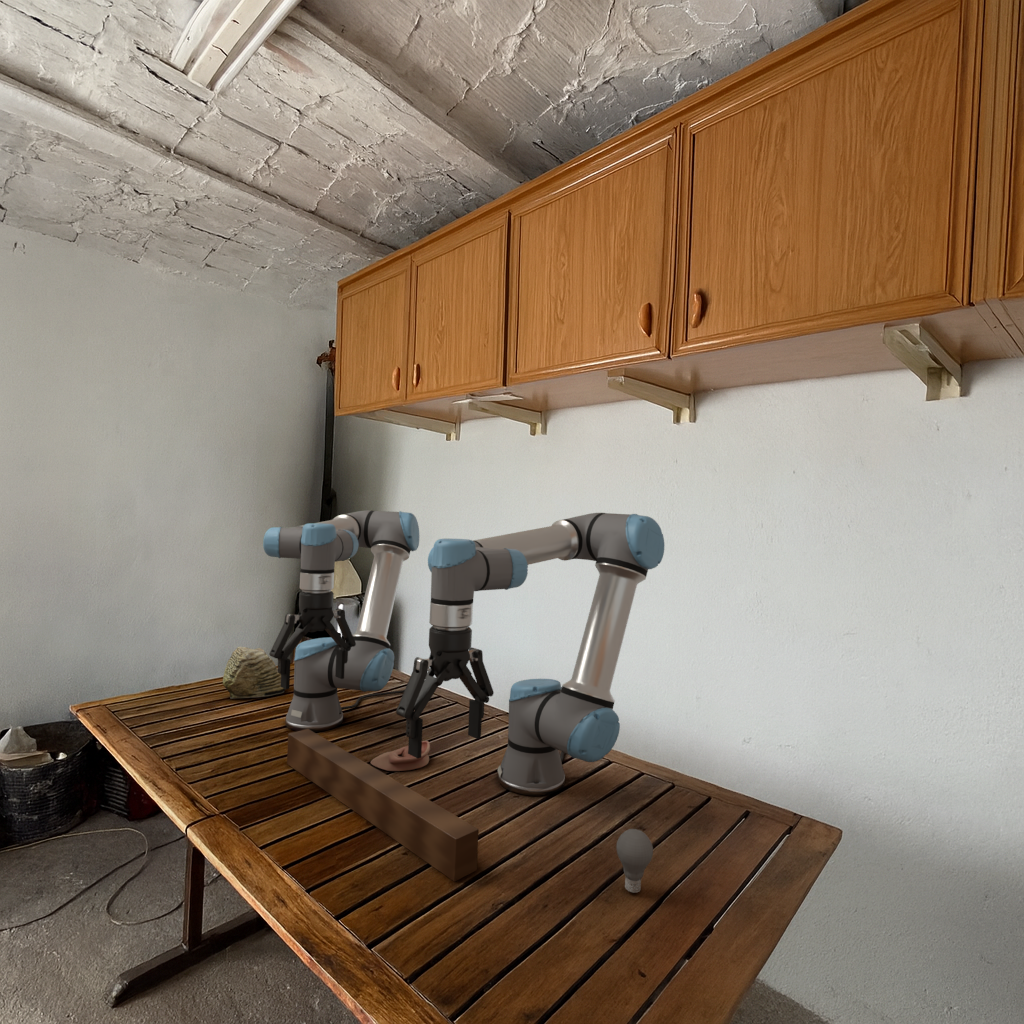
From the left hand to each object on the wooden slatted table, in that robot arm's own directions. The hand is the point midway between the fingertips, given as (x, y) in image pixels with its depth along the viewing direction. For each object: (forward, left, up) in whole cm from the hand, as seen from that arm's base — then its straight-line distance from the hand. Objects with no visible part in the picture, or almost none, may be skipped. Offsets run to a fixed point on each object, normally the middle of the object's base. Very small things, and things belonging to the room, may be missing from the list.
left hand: (313, 682), depth 146 cm
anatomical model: (-17, +12, -20) cm, 29 cm away
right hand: (+5, +48, 0) cm, 48 cm away
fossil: (-19, -59, -20) cm, 65 cm away
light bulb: (-10, +78, -20) cm, 81 cm away
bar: (+2, +24, -20) cm, 31 cm away
